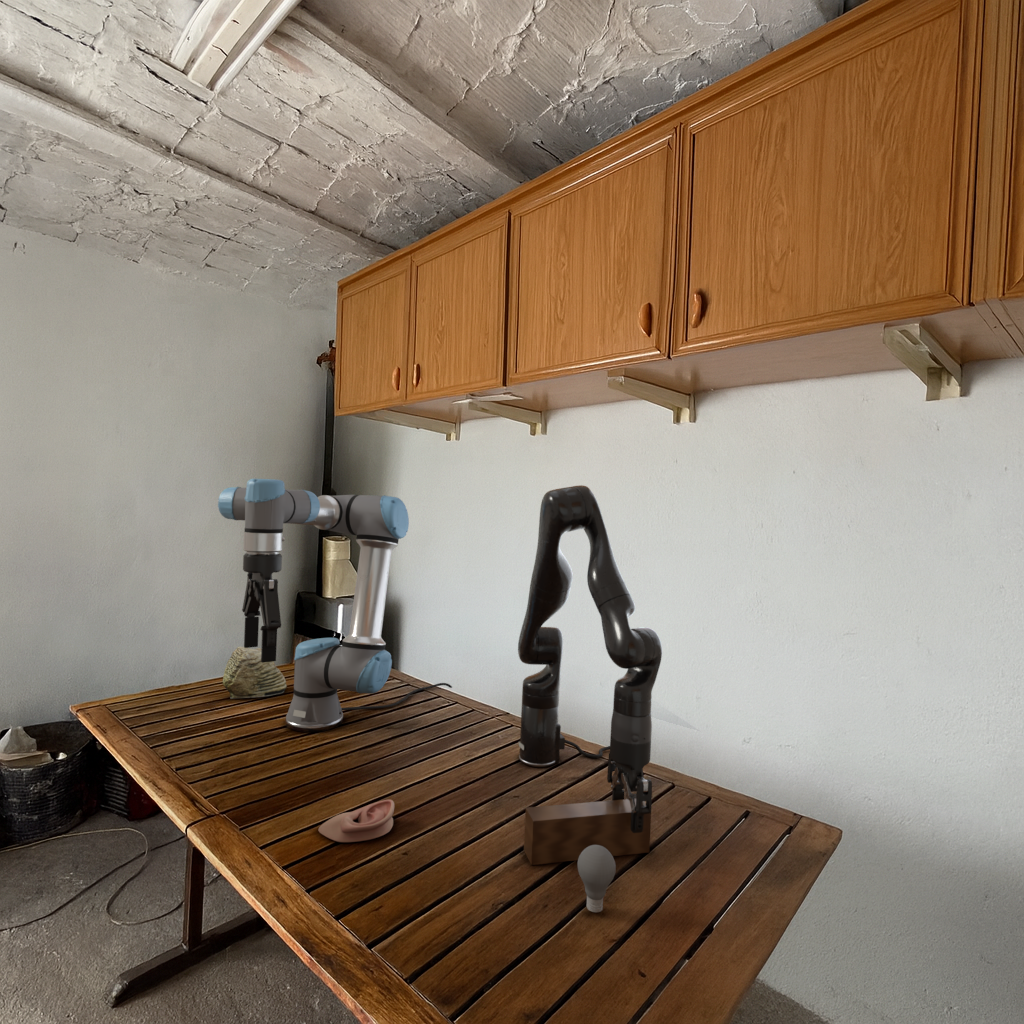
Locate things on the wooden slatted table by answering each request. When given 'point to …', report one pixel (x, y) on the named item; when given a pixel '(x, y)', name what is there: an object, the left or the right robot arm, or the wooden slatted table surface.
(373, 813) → the anatomical model
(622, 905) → the wooden slatted table surface
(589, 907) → the light bulb
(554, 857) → the bar
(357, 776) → the wooden slatted table surface
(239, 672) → the fossil
